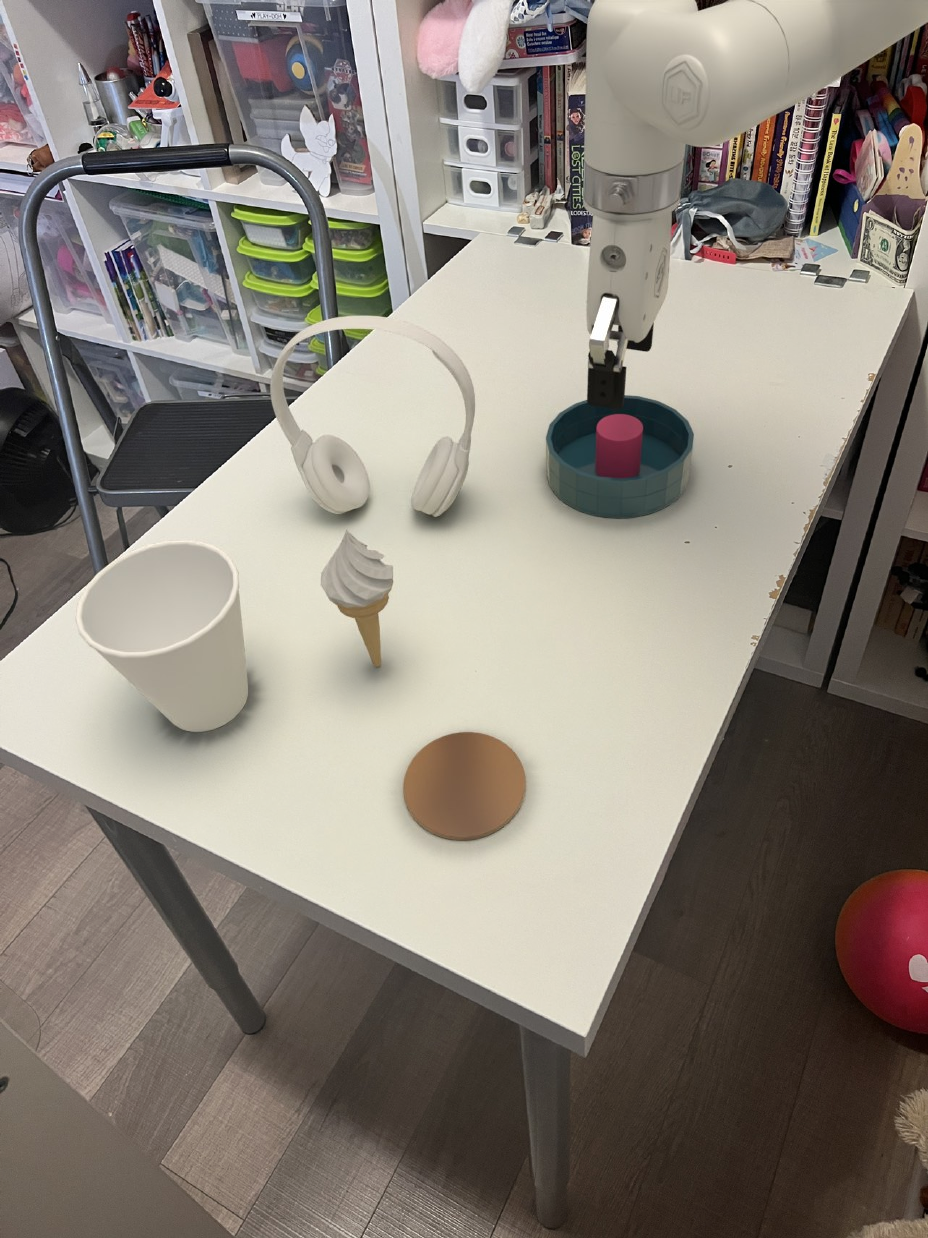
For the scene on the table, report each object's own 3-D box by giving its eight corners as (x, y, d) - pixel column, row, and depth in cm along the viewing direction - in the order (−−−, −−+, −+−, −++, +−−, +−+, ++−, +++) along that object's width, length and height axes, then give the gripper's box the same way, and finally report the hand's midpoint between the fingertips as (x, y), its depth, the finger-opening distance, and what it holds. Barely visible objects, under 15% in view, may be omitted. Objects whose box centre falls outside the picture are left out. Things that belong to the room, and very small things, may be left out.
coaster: (495, 719, 69) (495, 715, 69) (546, 811, 63) (546, 807, 63) (387, 762, 67) (386, 758, 67) (430, 860, 61) (429, 856, 61)
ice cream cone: (331, 673, 74) (291, 539, 63) (373, 630, 77) (341, 495, 66) (383, 701, 71) (351, 566, 60) (424, 656, 74) (400, 519, 63)
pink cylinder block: (625, 450, 90) (628, 408, 87) (648, 474, 87) (651, 431, 84) (587, 463, 89) (588, 421, 86) (608, 487, 86) (610, 445, 83)
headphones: (313, 481, 92) (265, 300, 77) (488, 485, 89) (472, 298, 74) (294, 527, 87) (240, 343, 72) (478, 533, 84) (460, 343, 70)
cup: (194, 629, 79) (146, 524, 70) (306, 667, 74) (270, 560, 65) (105, 731, 72) (38, 628, 63) (223, 778, 67) (170, 676, 58)
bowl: (642, 417, 95) (645, 380, 91) (716, 490, 86) (723, 452, 82) (524, 456, 92) (522, 419, 89) (588, 535, 83) (589, 498, 79)
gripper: (652, 235, 62) (636, 437, 74) (704, 143, 72) (682, 333, 85) (550, 225, 64) (551, 422, 77) (615, 137, 75) (606, 323, 87)
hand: (620, 375), depth 81 cm, fingers open, 9 cm apart
